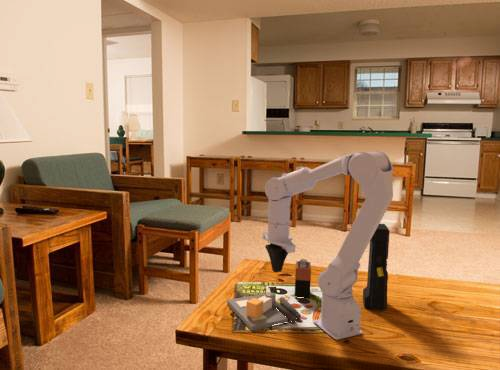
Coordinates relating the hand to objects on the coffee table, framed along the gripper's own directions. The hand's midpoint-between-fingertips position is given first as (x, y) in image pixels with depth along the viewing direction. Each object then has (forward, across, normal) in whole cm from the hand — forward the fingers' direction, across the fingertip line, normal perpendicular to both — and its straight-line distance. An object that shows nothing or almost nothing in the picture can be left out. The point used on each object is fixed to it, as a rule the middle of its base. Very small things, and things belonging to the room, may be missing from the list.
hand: (277, 271), depth 107 cm
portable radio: (+10, -10, -26) cm, 30 cm away
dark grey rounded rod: (+10, -4, -2) cm, 11 cm away
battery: (+10, +4, -11) cm, 15 cm away
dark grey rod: (+10, -3, 0) cm, 10 cm away
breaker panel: (+10, -2, +7) cm, 12 cm away
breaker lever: (+8, -4, +6) cm, 11 cm away
